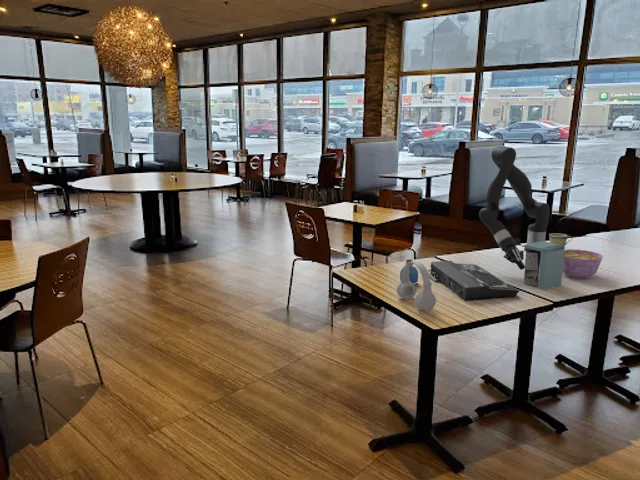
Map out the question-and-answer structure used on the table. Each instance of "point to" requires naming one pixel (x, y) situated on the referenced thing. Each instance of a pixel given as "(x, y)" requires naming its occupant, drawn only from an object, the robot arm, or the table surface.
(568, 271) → the bowl of food
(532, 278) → the coffee box
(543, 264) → the bracket
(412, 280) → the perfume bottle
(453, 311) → the table surface
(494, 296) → the vintage computer
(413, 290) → the headphones
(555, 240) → the ceramic cup
